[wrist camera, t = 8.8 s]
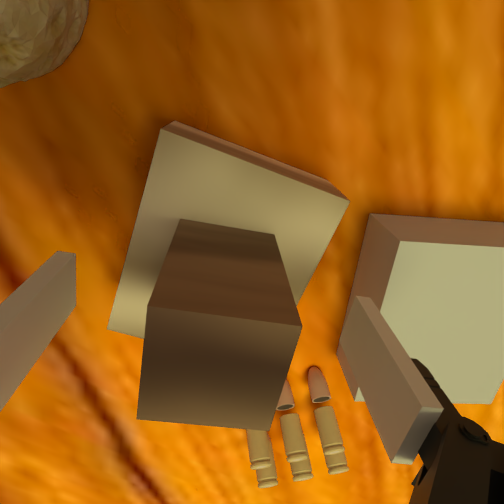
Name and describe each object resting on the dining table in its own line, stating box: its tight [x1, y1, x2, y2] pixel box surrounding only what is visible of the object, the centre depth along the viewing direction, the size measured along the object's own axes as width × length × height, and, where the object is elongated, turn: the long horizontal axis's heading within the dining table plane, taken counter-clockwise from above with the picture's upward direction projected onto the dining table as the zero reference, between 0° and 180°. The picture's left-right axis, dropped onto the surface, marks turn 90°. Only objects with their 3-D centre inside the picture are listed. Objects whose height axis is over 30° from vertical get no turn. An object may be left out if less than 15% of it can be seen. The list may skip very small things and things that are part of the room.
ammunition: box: [246, 367, 349, 488], centre depth 29 cm, size 5×7×8 cm
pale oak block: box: [107, 121, 350, 339], centre depth 22 cm, size 12×10×5 cm
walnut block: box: [137, 219, 302, 431], centre depth 16 cm, size 5×5×8 cm
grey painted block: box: [336, 213, 504, 404], centre depth 24 cm, size 12×10×5 cm
